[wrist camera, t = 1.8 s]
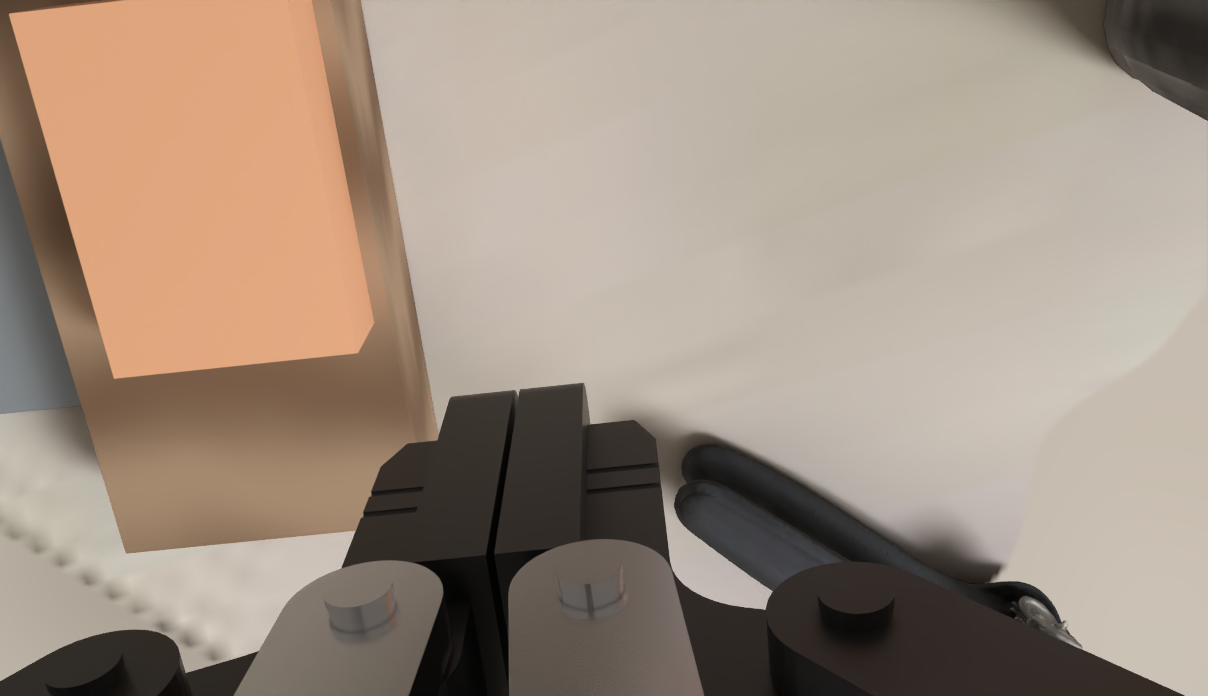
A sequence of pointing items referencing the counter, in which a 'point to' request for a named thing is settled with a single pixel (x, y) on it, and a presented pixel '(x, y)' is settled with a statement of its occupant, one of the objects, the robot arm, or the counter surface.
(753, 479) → the can opener
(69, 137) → the terracotta tile
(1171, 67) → the beverage cup
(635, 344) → the counter surface
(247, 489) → the panel
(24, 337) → the slate mat
